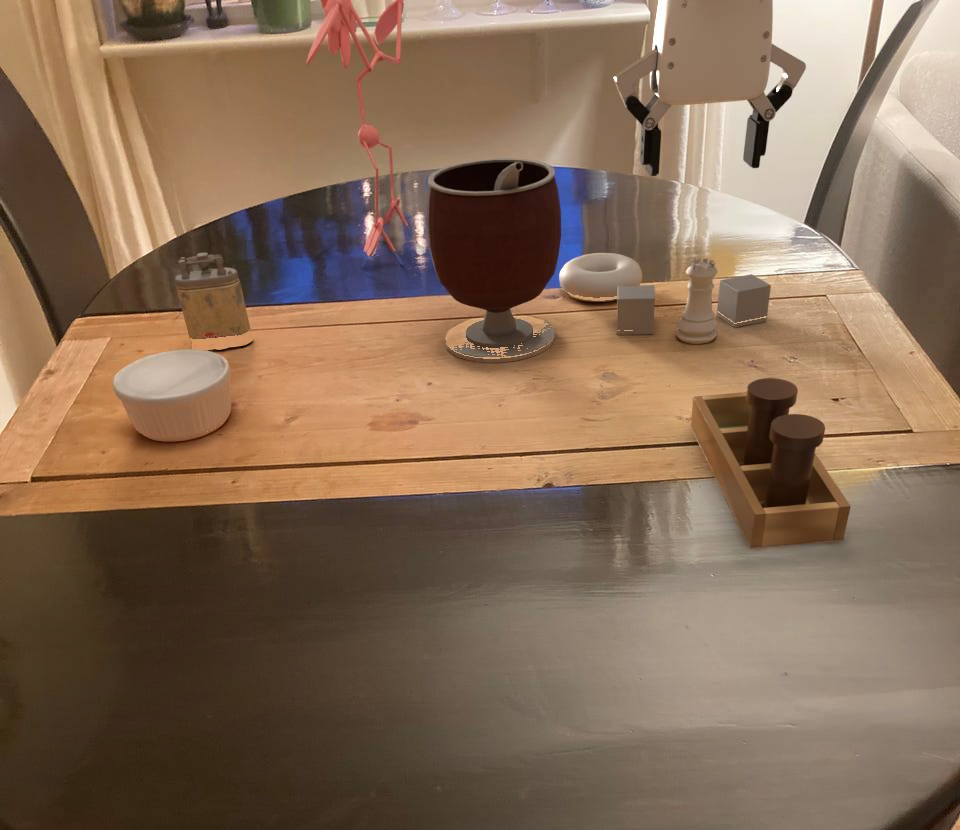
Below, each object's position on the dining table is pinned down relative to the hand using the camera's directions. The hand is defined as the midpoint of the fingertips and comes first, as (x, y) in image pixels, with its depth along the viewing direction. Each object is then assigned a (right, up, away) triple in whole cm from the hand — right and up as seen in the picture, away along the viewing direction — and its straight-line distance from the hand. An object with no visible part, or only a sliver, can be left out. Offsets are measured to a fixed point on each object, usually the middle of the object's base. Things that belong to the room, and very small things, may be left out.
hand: (701, 168), depth 92 cm
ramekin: (-51, -24, +4) cm, 56 cm away
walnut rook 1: (+2, -32, -12) cm, 34 cm away
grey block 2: (+8, -9, +15) cm, 19 cm away
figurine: (-38, +8, +41) cm, 56 cm away
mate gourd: (-19, -12, +14) cm, 27 cm away
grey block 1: (-4, -10, +15) cm, 19 cm away
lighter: (-51, -11, +19) cm, 56 cm away
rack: (+2, -32, -12) cm, 35 cm away
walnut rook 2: (+2, -36, -17) cm, 40 cm away
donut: (-7, -3, +24) cm, 25 cm away
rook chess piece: (+2, -13, +12) cm, 18 cm away
